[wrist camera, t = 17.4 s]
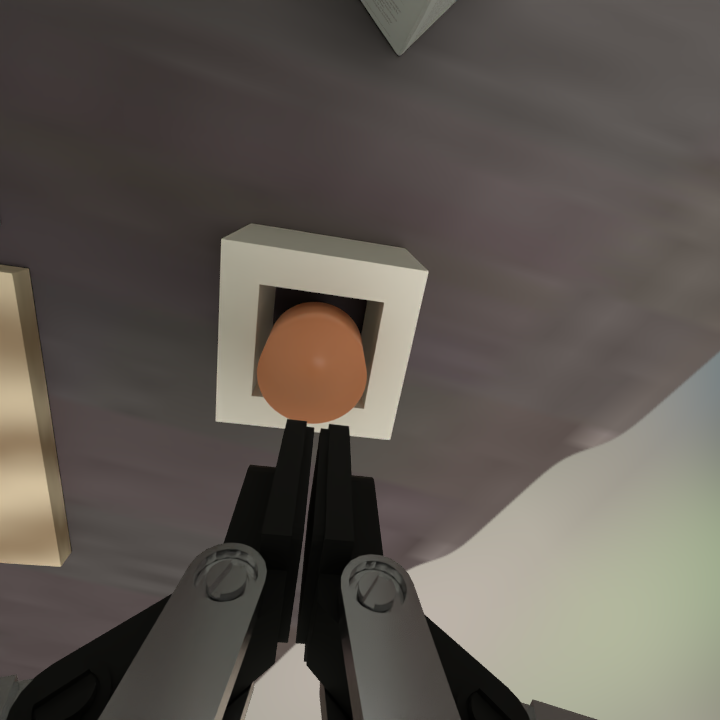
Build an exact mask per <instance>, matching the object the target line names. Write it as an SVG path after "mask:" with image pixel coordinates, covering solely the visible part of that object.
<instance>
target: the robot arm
mask: <svg viewBox="0 0 720 720" xmlns="http://www.w3.org/2000/svg"><path fill="white" fill-rule="evenodd" d="M313 437H314V427H307V421H301V420H292V419H287V422H286V426H285V431H284V435H283V439H282V444H281V448H280V453H279V457H278V461H277V466H276V467H267V466H257V465H250V466H249V468H248V470H247V473H246V476H245V480H244V483H243V486H242V489H241V492H240V495H239V498H238V501H237V504H236V507H235V510H234V513H233V516H232V519H231V522H230V525H229V529H228V532H227V535H226V538H225V541H224V544H218V545H216V546H213V547H211V548H208V549H206V550H205V551H203V552H202V553H201V554H199V555H198V556H196V558H195V559H194V560H193V561H192V563H191V564H190V565H189V567H188V568H187V570H186V572H185V573H184V575H183V577H182V578H181V580H180V582H179V584H178V585H177V587H176V589H175V590H174V592H173V593H172V594H171V595H169V596H167V597H166V598H164V599H162V600H161V601H159V602H157V603H155V604H154V605H152V606H150V607H149V608H147V609H145V610H144V611H142V612H140V613H139V614H137V615H135V616H133V617H132V618H130V619H128V620H127V621H125V622H123V623H122V624H120V625H118V626H117V627H115V628H113V629H111V630H110V631H108V632H106V633H105V634H103V635H101V636H100V637H98V638H96V639H95V640H93V641H91V642H89V643H88V644H86V645H84V646H83V647H81V648H79V649H78V650H76V651H74V652H73V653H71V654H69V655H67V656H66V657H64V658H62V659H61V660H59V661H57V662H56V663H54V664H52V665H51V666H50V667H48V668H47V669H45V670H44V671H43V672H41V673H40V674H39V675H37V676H36V677H35V678H34V679H29V680H23V681H18V678H17V675H11V676H6V677H0V720H244V719H245V716H246V713H247V710H248V706H249V703H250V700H251V696H252V693H253V690H254V684H255V680H256V679H257V678H258V677H259V676H261V675H262V674H263V673H264V672H265V671H266V670H267V669H269V668H270V667H271V666H272V665H273V664H274V663H275V657H276V650H277V642H284V643H288V638H289V631H290V624H291V617H292V610H293V603H294V597H295V590H296V583H297V576H298V569H299V562H300V555H301V548H302V541H303V533H304V524H305V515H306V505H307V495H308V485H309V476H310V466H311V456H312V447H313ZM296 643H301V644H305V654H304V661H305V662H307V666H308V667H309V669H310V670H311V671H312V672H313V674H314V675H315V676H316V677H317V678H318V680H319V681H320V705H321V715H322V720H597V719H594V718H590V717H587V716H584V715H581V714H577V713H574V712H571V711H568V710H565V709H562V708H558V707H555V706H552V705H549V704H546V703H542V702H539V701H536V700H532V702H531V704H530V705H528V704H524V703H521V702H520V701H519V699H518V698H517V697H516V696H515V695H514V694H513V693H512V692H511V691H510V690H509V688H508V687H506V686H505V685H504V684H503V683H502V682H501V681H500V680H499V679H497V678H496V677H495V676H494V675H493V674H492V673H491V672H489V671H488V670H487V669H486V668H485V667H484V666H482V665H481V664H480V663H479V662H478V661H477V660H476V659H474V658H473V657H472V656H471V655H470V654H469V653H468V652H467V651H465V650H464V649H463V648H462V647H461V646H460V645H459V644H457V643H456V642H455V641H454V640H453V639H452V638H451V637H449V636H448V635H447V634H446V633H445V632H444V631H443V630H442V629H440V628H439V627H438V626H437V625H436V624H435V623H434V622H432V621H431V620H430V619H429V618H428V617H426V616H425V615H424V613H423V610H422V607H421V604H420V602H419V598H418V596H417V593H416V590H415V587H414V584H413V582H412V580H411V578H410V576H409V574H408V573H407V572H406V571H405V569H404V568H403V567H402V566H401V565H400V564H398V563H396V562H395V561H393V560H392V559H390V558H387V557H384V556H383V550H382V542H381V533H380V525H379V517H378V509H377V500H376V492H375V484H374V479H373V478H372V477H363V476H353V475H351V455H350V432H349V426H344V425H335V424H329V427H328V429H323V428H321V430H320V436H319V443H318V450H317V456H316V463H315V470H314V477H313V484H312V490H311V497H310V504H309V511H308V520H307V530H306V541H305V551H304V562H303V572H302V583H301V593H300V603H299V614H298V624H297V635H296Z"/></svg>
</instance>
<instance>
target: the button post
mask: <svg viewBox="0 0 720 720" xmlns="http://www.w3.org/2000/svg"><path fill="white" fill-rule="evenodd" d="M428 272H429V271H428V270H427V269H426V268H425V267H424V266H423V265H422V264H421V263H420V262H419V261H417V260H416V259H415V258H414V257H413V256H412V255H411V254H410V253H409V252H408V251H407V250H406V249H405V248H400V247H394V246H388V245H382V244H376V243H370V242H363V241H357V240H351V239H345V238H339V237H333V236H327V235H320V234H314V233H308V232H302V231H296V230H290V229H284V228H277V227H271V226H265V225H259V224H253V223H251V224H249V225H247V226H245V227H243V228H241V229H239V230H237V231H235V232H234V233H232V234H230V235H228V236H226V237H224V238H222V239H221V264H220V297H219V329H218V361H217V393H216V421H218V422H227V423H237V424H246V425H255V426H264V427H274V428H283V429H285V426H286V422H287V419H288V418H286V417H284V416H282V415H281V414H279V413H278V412H277V411H275V410H274V409H273V408H272V407H271V406H270V405H269V404H268V403H267V401H266V400H265V398H264V397H263V395H262V393H261V391H260V388H259V385H258V380H257V367H258V362H259V359H260V356H261V354H262V351H263V349H264V347H265V344H266V342H267V340H268V337H269V335H270V332H271V330H272V328H273V318H274V306H275V294H276V287H282V288H288V289H295V290H302V291H309V292H316V293H323V294H329V295H336V296H343V297H350V298H357V299H364V300H367V305H366V311H365V317H364V322H363V328H362V334H361V339H362V345H363V352H364V358H365V364H366V370H367V380H366V386H365V390H364V392H363V395H362V397H361V398H360V400H359V401H358V403H357V404H356V405H355V406H354V407H353V408H352V409H351V410H350V411H349V412H348V413H346V414H345V415H343V416H341V417H340V418H337V419H335V420H333V421H329V422H325V423H318V424H308V423H307V427H314V432H320V430H321V428H323V429H328V427H329V424H335V425H344V426H349V432H350V436H357V437H367V438H376V439H385V440H390V438H391V434H392V429H393V425H394V421H395V416H396V412H397V407H398V403H399V399H400V394H401V390H402V386H403V381H404V377H405V372H406V368H407V364H408V359H409V355H410V351H411V346H412V342H413V338H414V333H415V329H416V324H417V320H418V316H419V311H420V307H421V303H422V298H423V294H424V290H425V285H426V281H427V276H428Z"/></svg>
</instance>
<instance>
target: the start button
mask: <svg viewBox="0 0 720 720" xmlns="http://www.w3.org/2000/svg"><path fill="white" fill-rule="evenodd" d="M257 380H258V385H259V388H260V391H261V393H262V395H263V397H264V398H265V400H266V401H267V403H268V404H269V405H270V406H271V407H272V408H273V409H274V410H275V411H277V412H278V413H279V414H281V415H282V416H284V417H286V418H288V419H292V420H301V421H307V423H308V424H318V423H325V422H329V421H333V420H335V419H337V418H340V417H341V416H343V415H345V414H346V413H348V412H349V411H350V410H351V409H352V408H353V407H354V406H355V405H356V404H357V403H358V401H359V400H360V398H361V397H362V395H363V392H364V390H365V386H366V380H367V370H366V364H365V358H364V352H363V345H362V339H361V335H360V332H359V329H358V327H357V325H356V324H355V322H354V321H353V319H352V318H351V317H350V316H349V315H348V314H347V313H346V312H344V311H343V310H341V309H340V308H338V307H336V306H334V305H331V304H328V303H323V302H306V303H302V304H298V305H296V306H294V307H291V308H290V309H288V310H287V311H285V312H284V313H283V314H282V315H281V316H280V317H279V318H278V319H277V321H276V322H275V324H274V326H273V328H272V330H271V332H270V335H269V337H268V340H267V342H266V344H265V347H264V349H263V351H262V354H261V356H260V359H259V362H258V367H257Z"/></svg>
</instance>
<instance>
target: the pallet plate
mask: <svg viewBox="0 0 720 720" xmlns="http://www.w3.org/2000/svg"><path fill="white" fill-rule="evenodd" d="M70 553H71V546H70V539H69V533H68V526H67V519H66V513H65V506H64V499H63V493H62V486H61V479H60V473H59V466H58V459H57V453H56V446H55V439H54V433H53V426H52V419H51V413H50V406H49V399H48V393H47V386H46V379H45V373H44V366H43V359H42V353H41V346H40V339H39V333H38V326H37V319H36V313H35V306H34V299H33V293H32V286H31V279H30V273H29V269H28V268H21V267H14V266H7V265H0V563H12V564H28V565H43V566H58V567H61V566H62V565H63V563H64V562H65V560H66V559H67V557H68V556H69V555H70Z"/></svg>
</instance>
